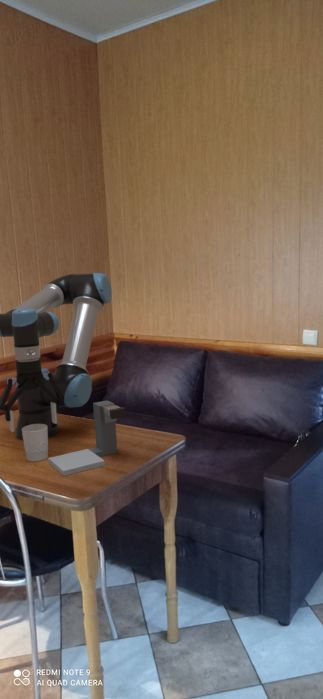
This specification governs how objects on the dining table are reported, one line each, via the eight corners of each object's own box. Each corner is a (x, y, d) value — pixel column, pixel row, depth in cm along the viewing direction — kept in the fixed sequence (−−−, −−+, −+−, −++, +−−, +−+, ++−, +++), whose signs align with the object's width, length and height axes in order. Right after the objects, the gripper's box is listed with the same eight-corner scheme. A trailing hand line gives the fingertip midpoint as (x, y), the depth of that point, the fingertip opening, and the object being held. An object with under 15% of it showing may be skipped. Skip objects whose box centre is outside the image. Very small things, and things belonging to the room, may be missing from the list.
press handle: (101, 421, 165) (100, 405, 165) (114, 419, 168) (113, 402, 167) (113, 428, 159) (111, 410, 158) (126, 425, 161) (125, 408, 160)
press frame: (48, 462, 164) (44, 412, 161) (110, 447, 174) (107, 400, 172) (63, 476, 153) (59, 422, 150) (128, 459, 163) (125, 408, 160)
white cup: (20, 458, 169) (17, 427, 168) (43, 451, 174) (40, 422, 172) (30, 464, 163) (27, 433, 161) (54, 458, 168) (51, 427, 166)
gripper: (-11, 366, 154) (-4, 437, 157) (71, 356, 166) (75, 422, 169) (-17, 363, 160) (-10, 431, 163) (62, 353, 173) (67, 417, 176)
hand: (33, 426), depth 166 cm, fingers open, 13 cm apart
